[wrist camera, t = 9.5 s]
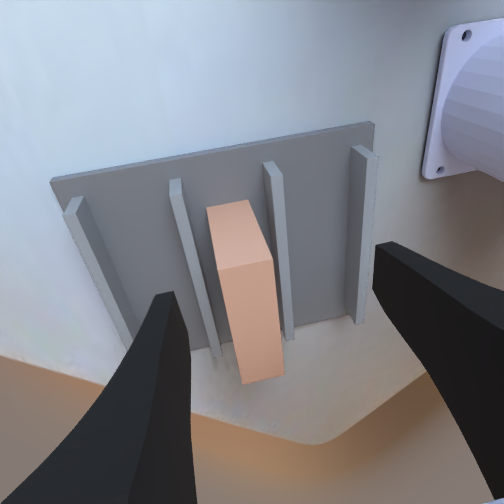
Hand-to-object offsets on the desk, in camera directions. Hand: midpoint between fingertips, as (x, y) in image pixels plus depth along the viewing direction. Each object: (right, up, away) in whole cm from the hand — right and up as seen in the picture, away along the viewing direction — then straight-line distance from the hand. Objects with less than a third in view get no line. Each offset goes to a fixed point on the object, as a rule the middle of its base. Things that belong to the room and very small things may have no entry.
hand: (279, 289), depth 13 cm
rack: (-2, +1, +10) cm, 10 cm away
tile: (-2, +1, +10) cm, 10 cm away
